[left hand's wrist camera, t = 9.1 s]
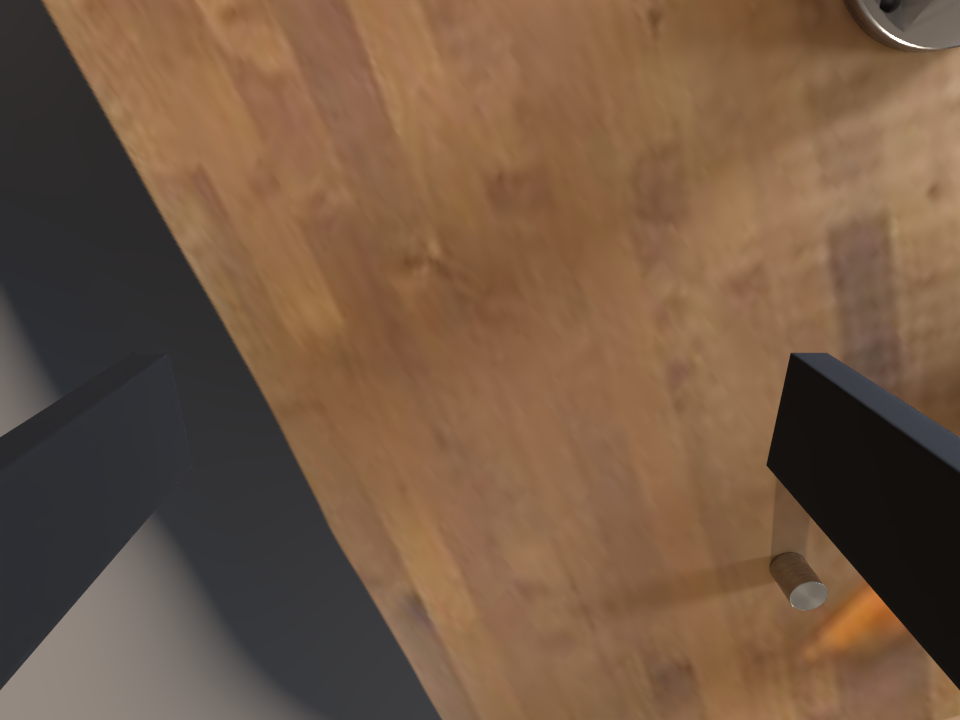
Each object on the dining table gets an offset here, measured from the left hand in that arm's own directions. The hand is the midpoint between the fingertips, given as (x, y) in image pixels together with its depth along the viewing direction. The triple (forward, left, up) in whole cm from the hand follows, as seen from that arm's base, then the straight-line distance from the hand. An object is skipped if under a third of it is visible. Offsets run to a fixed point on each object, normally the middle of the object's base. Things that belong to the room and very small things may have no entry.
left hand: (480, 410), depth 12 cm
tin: (-30, +38, -36) cm, 60 cm away
